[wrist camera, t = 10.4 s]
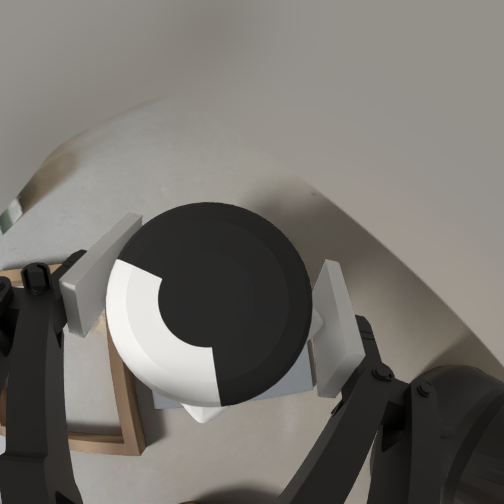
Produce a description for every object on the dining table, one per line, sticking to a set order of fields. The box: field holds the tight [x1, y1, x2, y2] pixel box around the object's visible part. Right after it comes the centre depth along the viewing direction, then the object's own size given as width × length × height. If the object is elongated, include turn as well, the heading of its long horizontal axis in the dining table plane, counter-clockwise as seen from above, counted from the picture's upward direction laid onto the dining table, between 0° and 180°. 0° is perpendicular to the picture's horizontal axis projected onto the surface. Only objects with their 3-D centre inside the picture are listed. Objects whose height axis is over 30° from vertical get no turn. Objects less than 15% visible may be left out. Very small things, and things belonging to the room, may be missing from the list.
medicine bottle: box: [105, 202, 324, 423], centre depth 13 cm, size 7×7×12 cm
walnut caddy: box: [0, 264, 146, 456], centre depth 19 cm, size 15×15×2 cm
